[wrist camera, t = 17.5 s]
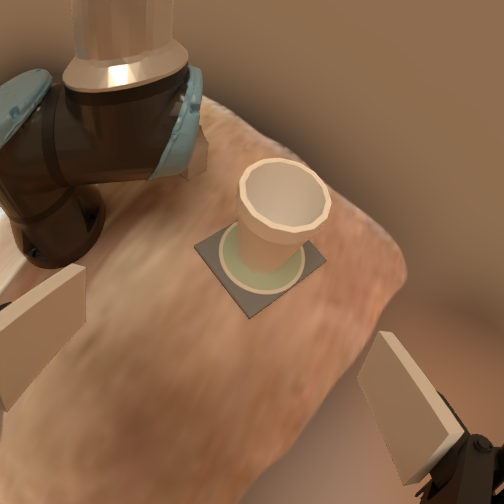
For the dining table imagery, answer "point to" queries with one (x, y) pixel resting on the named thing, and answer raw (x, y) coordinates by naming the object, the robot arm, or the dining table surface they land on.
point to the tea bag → (197, 157)
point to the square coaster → (246, 282)
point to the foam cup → (278, 212)
